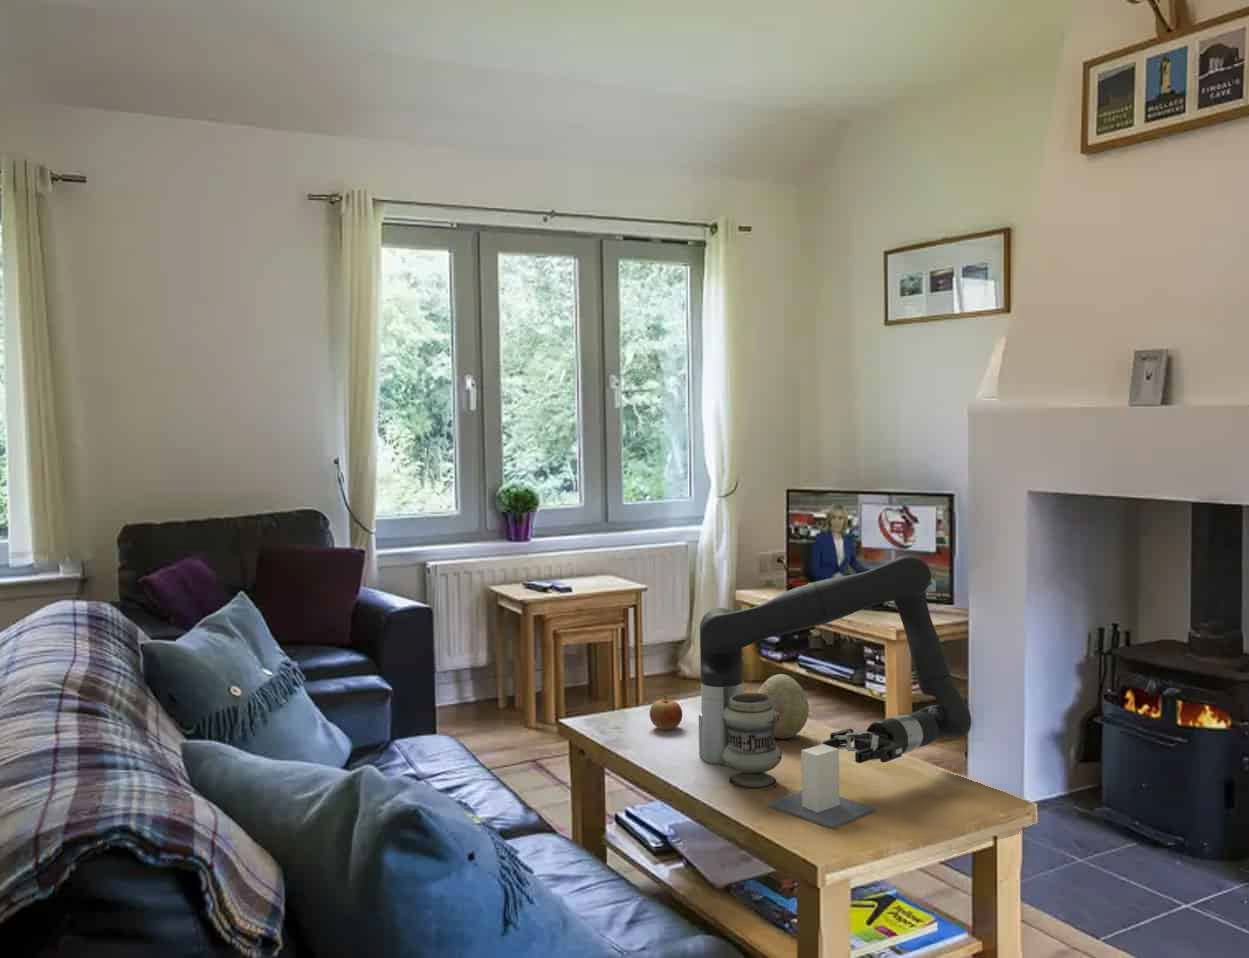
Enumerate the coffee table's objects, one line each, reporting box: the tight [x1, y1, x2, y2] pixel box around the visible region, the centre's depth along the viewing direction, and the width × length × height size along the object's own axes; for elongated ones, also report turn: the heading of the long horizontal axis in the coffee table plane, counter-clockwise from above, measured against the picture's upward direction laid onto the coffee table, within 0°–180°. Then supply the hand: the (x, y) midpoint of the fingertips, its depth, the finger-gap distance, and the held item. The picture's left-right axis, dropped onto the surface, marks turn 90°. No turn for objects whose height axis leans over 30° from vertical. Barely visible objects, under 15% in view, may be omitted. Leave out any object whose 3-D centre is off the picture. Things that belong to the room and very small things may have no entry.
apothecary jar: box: [722, 692, 783, 792], centre depth 218 cm, size 12×12×18 cm
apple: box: [649, 695, 683, 730], centre depth 258 cm, size 8×8×8 cm
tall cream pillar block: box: [800, 743, 840, 812], centre depth 203 cm, size 4×6×11 cm, turn 125°
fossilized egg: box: [757, 673, 810, 740], centre depth 248 cm, size 13×13×15 cm
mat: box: [766, 789, 877, 829], centre depth 203 cm, size 16×13×1 cm
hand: (840, 752), depth 206 cm, fingers open, 8 cm apart
